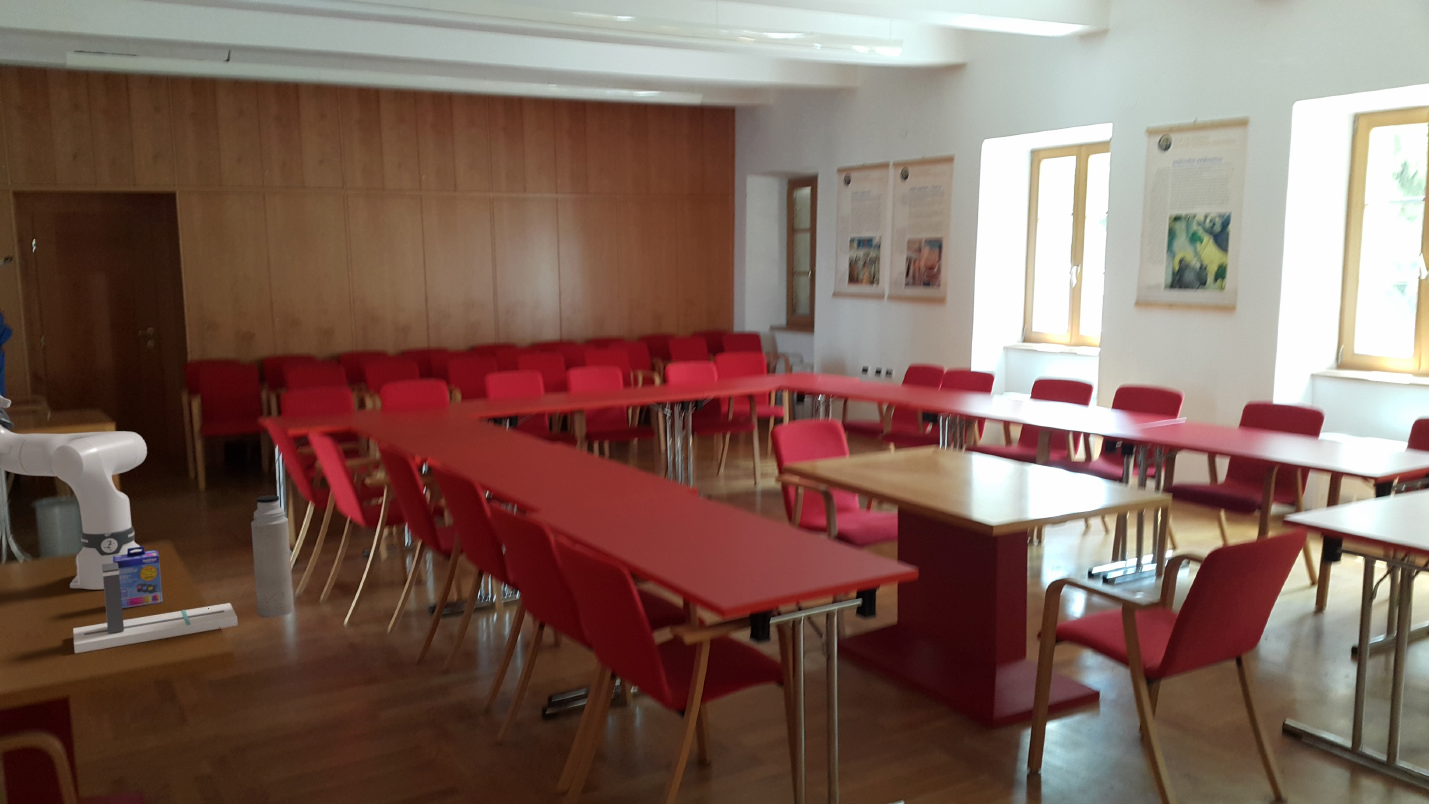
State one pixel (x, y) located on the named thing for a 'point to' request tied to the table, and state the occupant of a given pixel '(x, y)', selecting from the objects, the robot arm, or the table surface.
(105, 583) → the fader knob
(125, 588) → the ink cartridge box
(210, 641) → the table surface
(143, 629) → the fader board
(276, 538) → the thermos bottle
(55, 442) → the robot arm
